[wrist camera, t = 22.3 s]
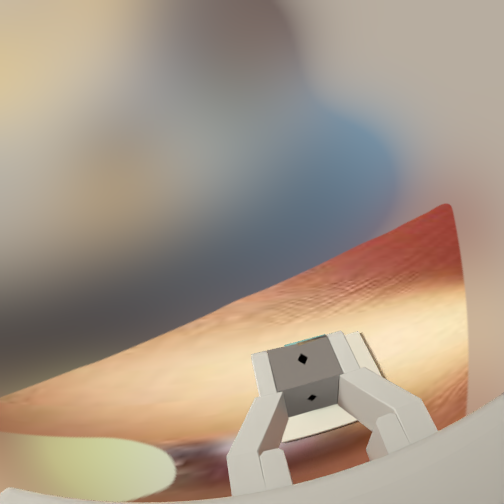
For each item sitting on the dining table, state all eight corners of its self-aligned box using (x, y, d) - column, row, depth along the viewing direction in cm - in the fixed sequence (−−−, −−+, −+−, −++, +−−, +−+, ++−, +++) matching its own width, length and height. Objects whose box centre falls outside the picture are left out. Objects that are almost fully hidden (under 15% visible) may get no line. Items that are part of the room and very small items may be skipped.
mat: (282, 442, 34) (282, 441, 34) (262, 359, 46) (262, 357, 46) (395, 406, 35) (396, 405, 35) (357, 332, 46) (358, 331, 46)
